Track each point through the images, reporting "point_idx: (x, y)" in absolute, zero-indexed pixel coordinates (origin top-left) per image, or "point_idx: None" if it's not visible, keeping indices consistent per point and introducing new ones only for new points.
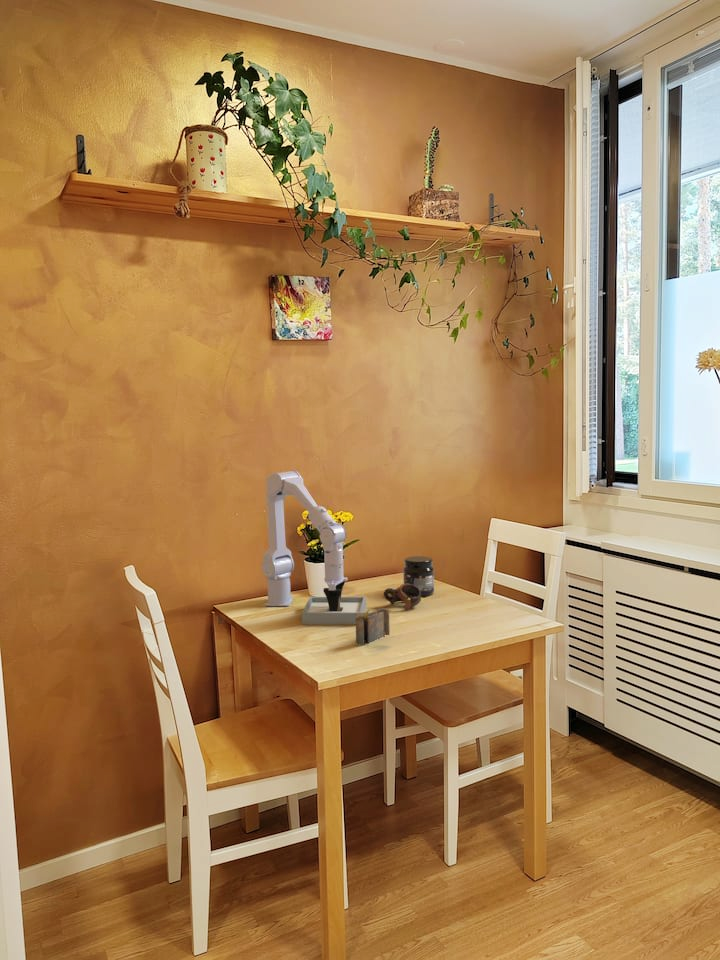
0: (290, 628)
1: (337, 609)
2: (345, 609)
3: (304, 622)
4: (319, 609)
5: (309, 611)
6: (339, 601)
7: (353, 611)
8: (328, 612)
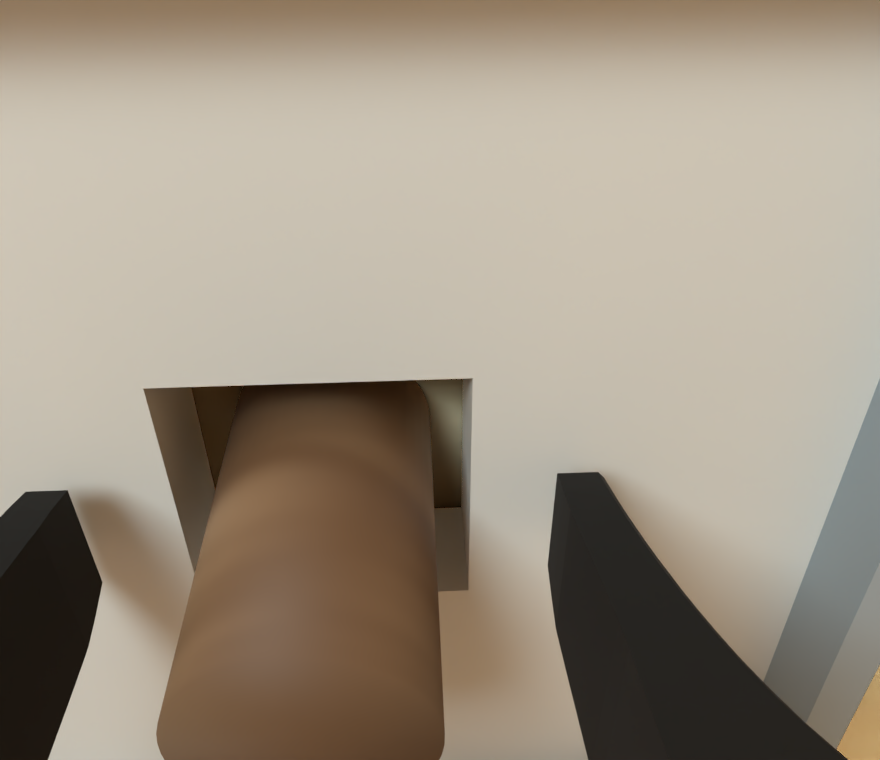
0: (843, 748)
1: (413, 472)
2: (308, 327)
3: None
4: None
5: (459, 754)
6: (349, 568)
7: (479, 130)
8: (867, 600)
